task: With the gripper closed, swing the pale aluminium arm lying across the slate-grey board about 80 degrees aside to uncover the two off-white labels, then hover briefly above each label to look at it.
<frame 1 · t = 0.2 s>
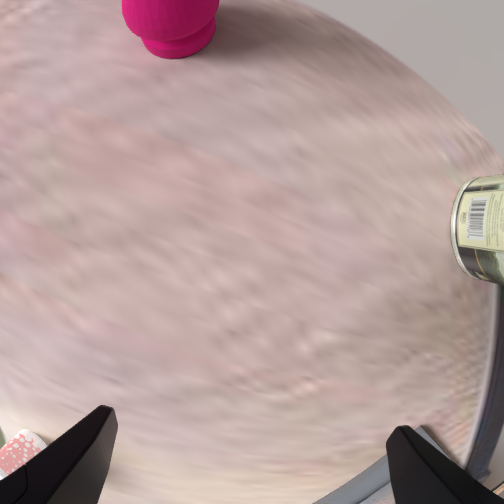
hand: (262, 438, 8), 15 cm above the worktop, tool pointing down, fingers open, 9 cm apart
coffee can: (483, 227, 24), on the worktop
pepper mill: (179, 32, 21), on the worktop
beverage cup: (35, 443, 24), on the worktop
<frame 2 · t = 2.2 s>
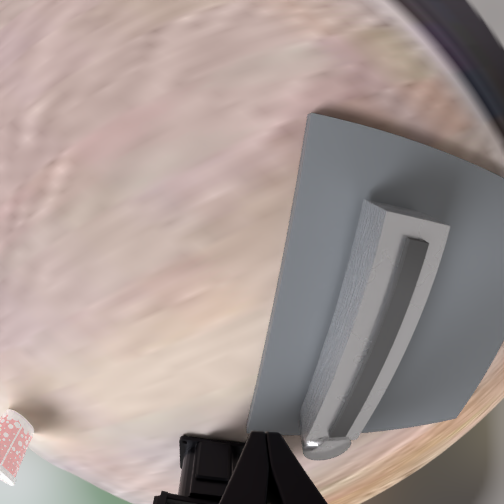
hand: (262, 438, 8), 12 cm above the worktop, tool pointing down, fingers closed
label board: (420, 320, 20), on the worktop
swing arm: (359, 362, 17), point 3 cm above the worktop, hinge at 0.0°
beverage cup: (20, 420, 25), on the worktop
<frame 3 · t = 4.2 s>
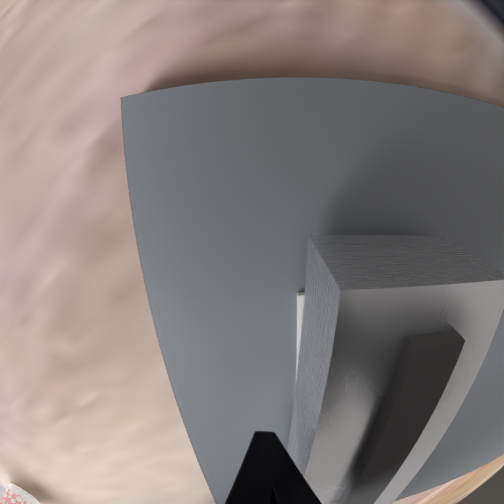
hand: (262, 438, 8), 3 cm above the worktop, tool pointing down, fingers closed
label board: (440, 384, 11), on the worktop
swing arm: (340, 485, 9), point 3 cm above the worktop, hinge at -3.4°, touching gripper
beverage cup: (24, 492, 20), on the worktop
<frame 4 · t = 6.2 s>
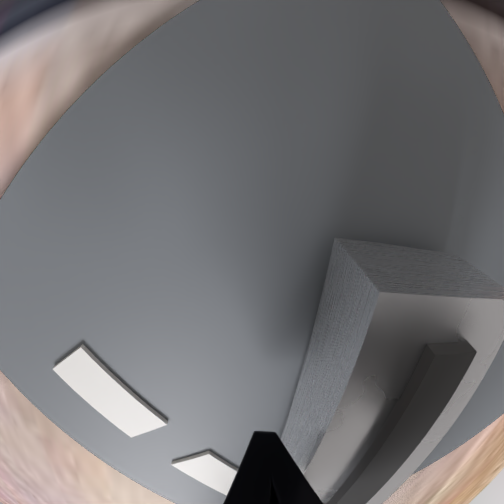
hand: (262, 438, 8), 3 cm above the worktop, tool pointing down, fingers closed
label board: (293, 383, 11), on the worktop
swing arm: (326, 488, 9), point 3 cm above the worktop, hinge at -42.5°, touching gripper
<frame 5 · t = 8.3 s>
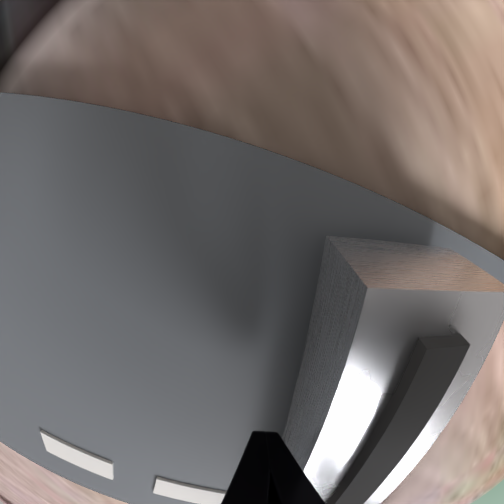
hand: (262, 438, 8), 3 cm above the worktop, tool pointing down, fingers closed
label board: (156, 412, 12), on the worktop
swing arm: (329, 484, 9), point 3 cm above the worktop, hinge at -76.2°, touching gripper
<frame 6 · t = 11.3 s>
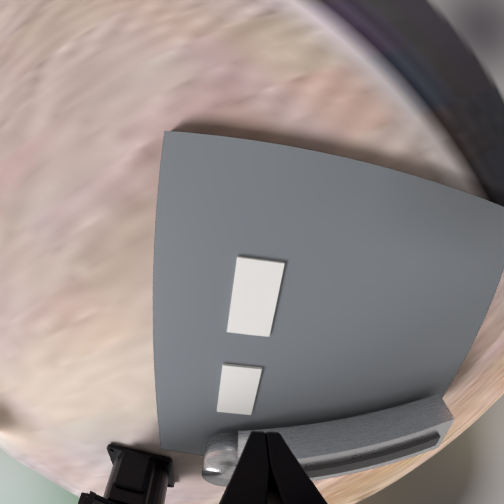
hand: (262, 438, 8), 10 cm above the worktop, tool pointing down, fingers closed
label board: (334, 353, 19), on the worktop
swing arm: (331, 452, 18), point 3 cm above the worktop, hinge at -76.2°
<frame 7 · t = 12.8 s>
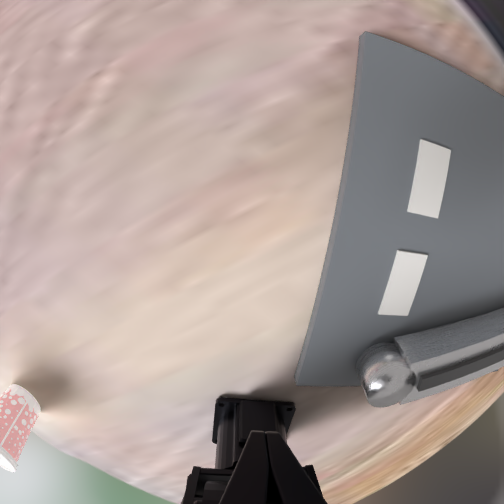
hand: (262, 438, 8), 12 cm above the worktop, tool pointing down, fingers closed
label board: (468, 247, 19), on the worktop
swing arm: (469, 352, 18), point 3 cm above the worktop, hinge at -76.2°
beverage cup: (25, 397, 24), on the worktop
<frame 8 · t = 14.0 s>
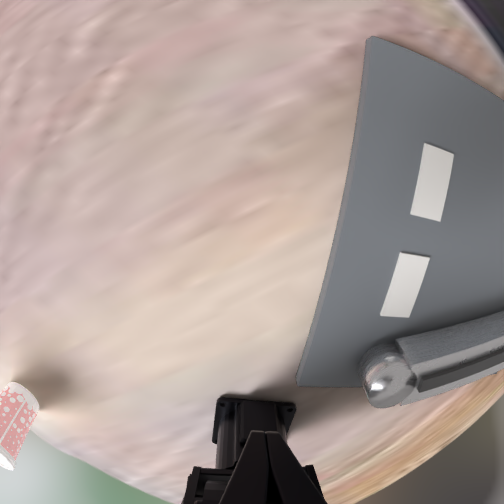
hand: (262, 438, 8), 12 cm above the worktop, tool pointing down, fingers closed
label board: (469, 251, 19), on the worktop
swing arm: (469, 354, 18), point 3 cm above the worktop, hinge at -76.2°
beverage cup: (24, 395, 24), on the worktop
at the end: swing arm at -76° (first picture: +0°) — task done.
